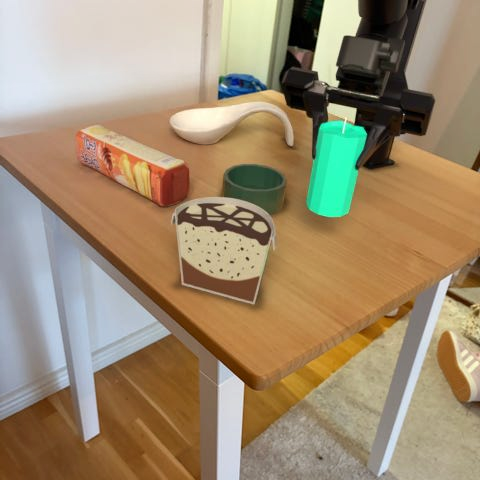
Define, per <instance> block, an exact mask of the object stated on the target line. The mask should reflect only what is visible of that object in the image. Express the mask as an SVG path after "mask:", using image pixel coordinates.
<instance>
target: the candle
mask: <svg viewBox="0 0 480 480" xmlns="http://www.w3.org/2000/svg"><path fill="white" fill-rule="evenodd" d="M347 119H348V116H345V119H344V120H328V122H326V123H323V124H321V126H320V128H319V132H318V138H317V144H316V156H315V159H314V160H313V161H312V166H311V173H310V178H309V185H308V191H307V196H306V201H305V205H306V207H307V209H308V210H309V211H311V212H313V213H314V214H316V215H318V216H322V217H327V218H338V217H339V218H340V217H343V216H345V215H348V214H349V213H350V210H351V206H352V201H353V197H354V193H355V189H356V183H357V180H358V176H359V172H360V169H359V170H356V169H355V166H356V162H357V159H358V157H359V156H360V154H361V152H362V151H363V148H364V145H365V141H366V138H367V133H366V131H365V130H364V128H363V127H360V126H354V124H351V123H349V122H347Z"/></svg>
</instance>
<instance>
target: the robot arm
mask: <svg viewBox="0 0 480 480" xmlns="http://www.w3.org/2000/svg"><path fill="white" fill-rule="evenodd" d="M427 1H428V0H357V11H358V12H357V13H358V16H359V18H360V21H359V24H358V26H357V30H356V32H355V35H348V34H347V35H344V36H343V37H342V41H341V45H340V49H339V51H338V55H337V59H336V63H335V67H337V70H336V73H335V81H336V82H338V84H337V86H332V85H330V84H328V82H326V81H323V80H320V78H319V72H318V71H317V70H312V69H307V68H302V67H297V66H291V67H290V68H289V69H288V70H286V71H285V72H284V75H283V78H282V80H281V83H280V86H281V89H282V93H283V97H284V101H285V105H286V106H287V107H288V108H289V109H293V110H298V111H302V112H305V115H306V117H307V118H309V119H311V121H312V137H311V159H312V160H313V161H314V159H315V156H316V144H317V138H318V132H319V128H320V126H321V124H323V123H326V122H329V111H328V107H329V106H330V104H332V105H333V104H334V105H338V106H343V107H346V108H352V109H356V110H355V116H354V123H353V125H354V126H360V127H363V128H364V130H365V131H366V133H367V138H366V141H365V145H364V148H363V151H362V152H361V154H360V156H359V157H358V159H357V162H356V166H355V169H356V170H359V171H360V169H361V168H362V167H363V166H364V167H366V168H367V169H369V170H373V169H379V168H382V167H387V166H393V165H395V163H396V161H395V160H394V159H392V158H391V152H392V149H393V145H394V141H395V139H396V138H398V137H400V136H402V135H406V134H407V135H408V134H409V135H413V136H417V137H424V136H426V135H427V132H428V130H429V129H428V128H429V125H430V123H431V120H432V116H433V112H434V109H435V105H436V98H435V96H434V93H430V92H425V91H420V90H414V89H409V85H408V80H407V75H406V72H407V70H408V69H407V68H408V65H409V62H410V58H411V55H412V51H413V48H414V45H415V42H416V38H417V34H418V31H419V27H420V24H421V20H422V17H423V14H424V11H425V8H426V4H427Z"/></svg>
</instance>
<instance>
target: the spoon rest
mask: <svg viewBox="0 0 480 480" xmlns="http://www.w3.org/2000/svg"><path fill="white" fill-rule="evenodd" d="M258 113H266V114H270V115H273V116H274V117H276V118H278V119H279V120H280V121H281V123H282V124H283V126H284V140H285V142H286V144H287V145H288V146H289V147H293V146H294V141H295V136H294V129H293V126H292V124H291V121H290V118H289V116H288V115H287V113H286V112H285V111H284V110H283V109H282V108H281V107H279V106H277V105H275V104H273V103H270V102H267V101H263V100H262V101H261V100H255V101H246V102H242V103H237V104H231V105H226V106H218V107H217V106H215V107H201V108H191V109H185V110H182V111H179V112H176V113H174V114H172V116H171V117H170V119H169V125H170V127H171V128H172V130H173V132H175V133H176V135H178V136H179V137H180V138H182V139H184V140H186V141H188V142H191V143H193V144H197V145H214V144H217V143H218V142H220V140H221V139H223V138H224V137H225V136H226V135H228V134H229V133H230V132H231V131H232V130H234V128H235V127H237V126H238V125H239V124H240V123H242V122H243V121H245V119H247V118H248V117H251V116H252V115H255V114H258Z"/></svg>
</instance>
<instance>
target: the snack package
mask: <svg viewBox="0 0 480 480" xmlns="http://www.w3.org/2000/svg"><path fill="white" fill-rule="evenodd" d="M75 146H76V149H75V150H76V155H77V156H76V157H77V159H78V161H79V162H80V163H81V164H82V165H84V166H87V167H89V168H92V169H93V170H95V171H97V172H99V173H101V174H103V175H104V176H106V177H108V178H109V179H111V180H113V181H115V182H117V183H118V184H120V185H122V186H124V187H126V188H128V189H130V190H132V191H134V192H136V193H137V194H139V195H141V196H143V197H145V198H147V199H148V200H151V202H154V203H155V204H157V205H159V206H160V207H163V208H164V207H165V208H166V207H171V206H173V205H175V204H178V203H179V202H182V200H184V199H185V198H186V197H187V196H188V194H189V192H190V185H191V184H190V167H189V165H188V163H187V162H186V161H185V160H183V159H180V158H177V157H174V156H172V155H169V154H167V153H165V152H163V151H160V150H158V149H156V148H153V147H151V146H148V145H146V144H143V143H141V142H139V141H137V140H134V139H132V138H129V137H128V136H125V135H122V134H120V133H118V132H115V131H113V130H110V129H108V128H106V127H104V126H103V125H101V124H92V125H90V126H86V127H84V128H81V129H79V130H78V131H77V133H76V135H75Z"/></svg>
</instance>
